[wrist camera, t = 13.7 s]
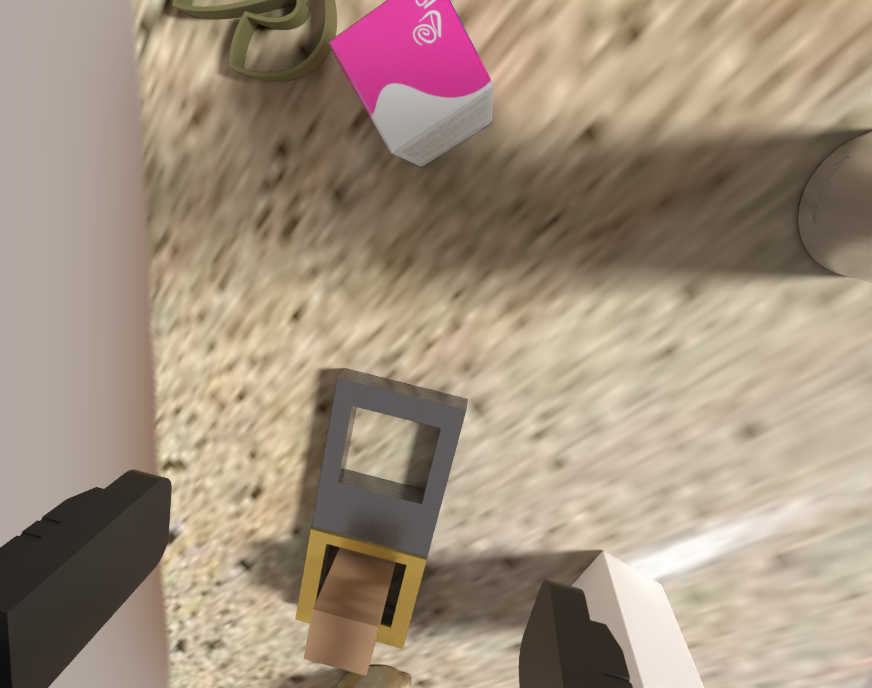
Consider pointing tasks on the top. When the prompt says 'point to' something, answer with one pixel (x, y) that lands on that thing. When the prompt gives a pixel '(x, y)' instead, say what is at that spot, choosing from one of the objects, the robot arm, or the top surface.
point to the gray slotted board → (379, 494)
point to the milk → (639, 623)
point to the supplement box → (417, 77)
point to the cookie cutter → (261, 3)
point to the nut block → (349, 611)
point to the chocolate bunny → (376, 679)
